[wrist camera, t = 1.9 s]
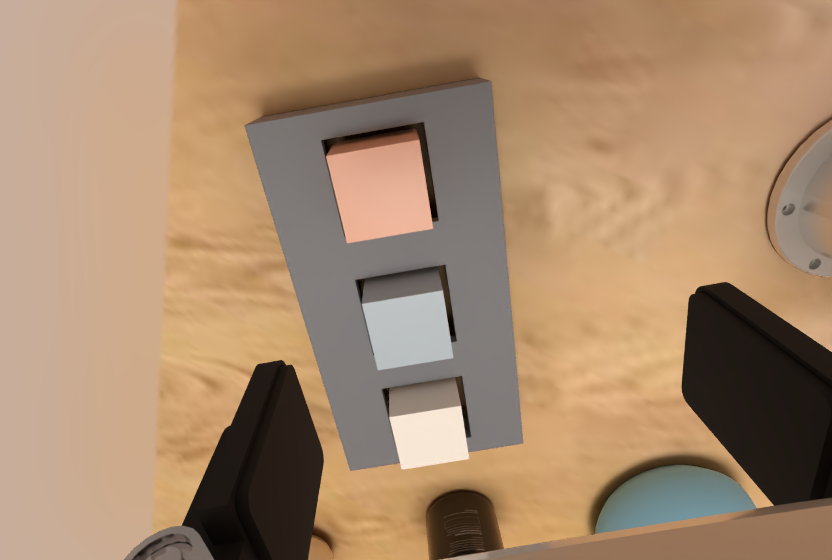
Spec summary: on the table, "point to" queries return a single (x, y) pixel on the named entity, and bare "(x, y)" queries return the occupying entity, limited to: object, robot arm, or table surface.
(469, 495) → the supplement bottle
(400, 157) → the terracotta button
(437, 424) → the cream button
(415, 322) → the light gray button
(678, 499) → the sugar bowl
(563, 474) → the table surface
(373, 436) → the button panel
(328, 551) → the plastic bottle
